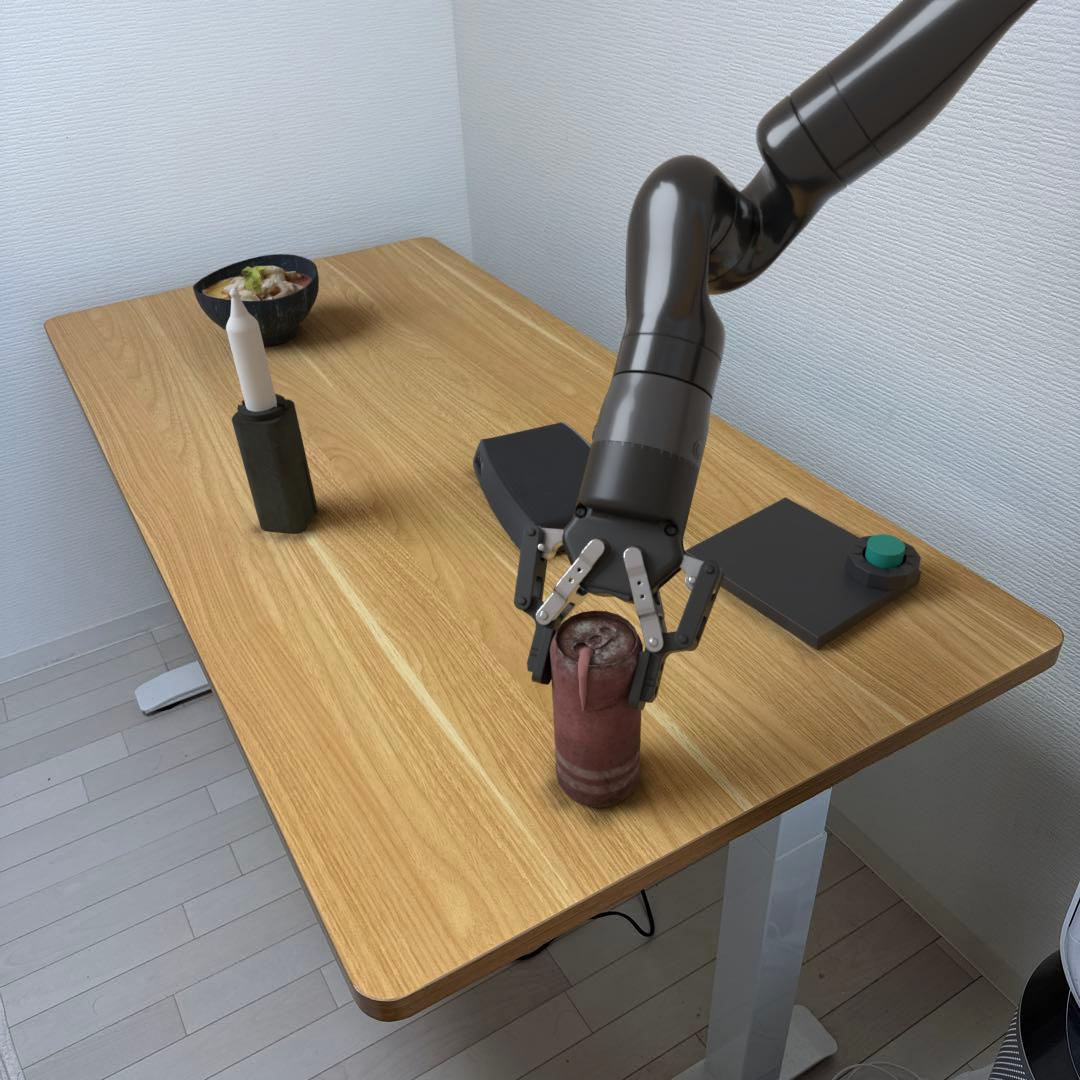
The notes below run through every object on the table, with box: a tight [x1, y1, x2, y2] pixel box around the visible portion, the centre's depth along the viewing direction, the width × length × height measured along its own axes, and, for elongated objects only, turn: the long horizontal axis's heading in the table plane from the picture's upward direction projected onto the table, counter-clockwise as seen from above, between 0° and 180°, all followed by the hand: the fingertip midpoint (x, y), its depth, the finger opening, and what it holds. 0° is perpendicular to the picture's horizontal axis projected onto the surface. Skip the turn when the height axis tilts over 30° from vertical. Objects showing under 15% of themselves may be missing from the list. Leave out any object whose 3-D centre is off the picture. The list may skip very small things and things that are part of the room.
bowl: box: [192, 253, 320, 348], centre depth 137 cm, size 17×17×10 cm
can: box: [550, 610, 644, 809], centre depth 67 cm, size 6×6×14 cm
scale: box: [684, 497, 923, 651], centre depth 88 cm, size 16×14×3 cm
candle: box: [225, 289, 319, 534], centre depth 93 cm, size 5×5×25 cm
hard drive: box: [472, 421, 591, 553], centre depth 100 cm, size 13×19×4 cm
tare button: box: [865, 533, 905, 569], centre depth 86 cm, size 3×3×2 cm
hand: (586, 694), depth 64 cm, fingers closed on can, 6 cm apart
